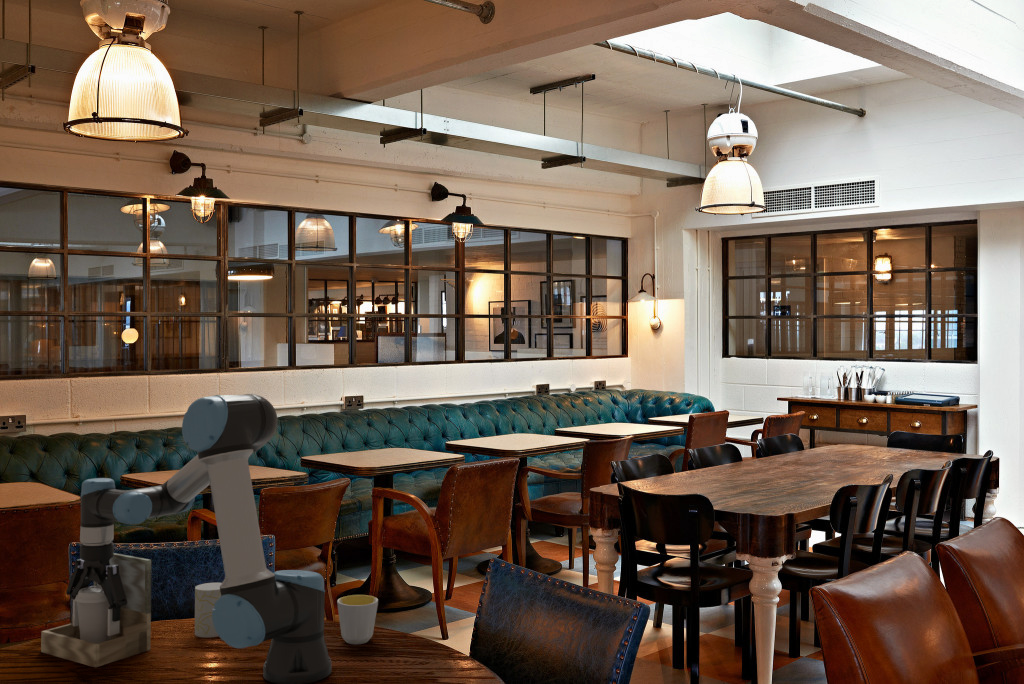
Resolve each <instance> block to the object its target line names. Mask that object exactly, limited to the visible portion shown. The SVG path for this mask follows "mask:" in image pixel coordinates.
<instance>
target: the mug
mask: <svg viewBox="0 0 1024 684" xmlns="http://www.w3.org/2000/svg"><path fill="white" fill-rule="evenodd" d="M336 604H337V610H338V611H337V612H338V619H339V627H340V634H341V637H342V639H343V640H344V641H345V642H346V643H347V644H348V645H349V644H350V645H362V644H363V645H364V644H366V643H368V642H369V641H370V639H371V638H372V637H374V635H373V634H374V628H375V623H376V617H377V611H378V606H379V599H378V598H377V597H375V596H373V595H366V594H352V595H351V594H350V595H347V596H343V597H340V598H338V599H337V600H336Z"/></svg>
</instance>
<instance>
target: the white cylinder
mask: <svg viewBox="0 0 1024 684" xmlns="http://www.w3.org/2000/svg"><path fill="white" fill-rule="evenodd" d="M221 584H222V582H207V583H201V584H198V585H195V586H194V587H195V588H194V636H196V637H198V638H216V637H219V635H218V634H217V632H216V630H215V627H214V624H213V620H212V610H213V608H214V604H215V602H216V601H217V600H218V599H219V598H220V597H221V592H220V585H221Z"/></svg>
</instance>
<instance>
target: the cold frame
mask: <svg viewBox="0 0 1024 684" xmlns="http://www.w3.org/2000/svg"><path fill="white" fill-rule="evenodd" d="M109 562H110V566H113V565H119V574H120V578H121V581H122V585H123V588H124V592H125V595H126V599H127V605H123V606H121V617H120V628H119V633H118V634H114V635H112V639H111V640H108V641H105V642H102V643H98V644H95V643H91V642H88V641H84V640H80V629H79V625H78V626H73V614H71V623H67V624H63V625H60V626H57V627H53V628H49V629H45V630H42V631H40V633H41V635H40V637H41V639H40V640H41V641H40V643H41V645H40V650H41V651H40V652H41V653H43V654H47V655H51V656H53V657H57V658H61V659H64V660H68V661H72V662H75V663H79V664H83V665H86V666H88V667H93V668H98V667H101V666H104V665H107V664H111V663H113V662H114V663H115V662H117V661H120V660H123V659H126V658H129V657H133V656H135V655H139V654H142V653H144V652H148V651H151V639H152V635H151V634H152V631H151V629H152V628H151V626H152V625H151V623H152V622H151V620H152V559H148V558H143V557H137V556H133V555H128V554H127V555H126V554H122V553H115V552H114V556H113V557H112V558H111V559H110V561H109ZM106 579H107V577H106ZM98 585H99V584H98V583H97V582H94V581H93V586H98ZM121 601H122V600H121ZM141 652H142V653H141Z"/></svg>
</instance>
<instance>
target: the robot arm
mask: <svg viewBox="0 0 1024 684" xmlns="http://www.w3.org/2000/svg"><path fill="white" fill-rule="evenodd" d="M278 421H279V420H278V415H277V411H276V409H275V407H274V405H273V404H272V403H271V402H270V401H269V400H268V399H267V398H265V397H264V396H261V395H259V394H253V393H251V394H250V393H247V394H216V395H209V396H204V397H200V398H197V399H196V400H194V401H193V402H191V404H190V405H189V406H188V408H187V410H186V412H185V413H184V415H183V418H182V424H181V433H182V437H183V441H184V443H185V444H186V445H187V447H188V448H189V449H190V450H191V451H195V452H196V453H197V454H196V455H195V456H194V457H193V458H192V459H191V460H190V461H188V462H187V463H186V464H185V465H184V466H182V467H181V468H180V469H179V470H178V471H176V473H174V474H173V475H172V476H171V477H170V478H169V479H167V480H166V481H164V483H162V484H160V485H156V486H155V485H154V486H148V487H141V488H140V487H139V488H136V489H129V490H127V489H125V490H124V489H116V485H115V484H116V483H115V480H114V479H112V478H110V477H109V478H108V477H98V478H97V477H96V478H95V477H94V478H88V479H85V480H83V482H82V483H81V492H80V496H79V498H80V526H79V527H80V531H79V533H80V534H79V542H80V545H79V559H75V561H74V569H73V571H72V575H71V577H70V580H69V583H68V585H67V589H66V592H65V593H66V595H67V596H70V599H71V600H72V603H71V604H72V605H71V610H72V615H73V626H78V625H79V617H78V606H77V602H76V601H75V598H76V595H77V594H78V592H79V590H80V589H82V588H85V587H90V585H91V583H92V581H93V583H94V582H97V583H98V584H99V585H101V587H102V589H103V592H104V594H105V596H106V598H107V600H108V602H109V605H110V607H109V608H108V636H111V635H114V634H118V633H119V628H120V617H121V606H123V605H127V599H126V595H125V592H124V588H123V585H122V581H121V578H120V574H119V565H113V566H110V562H109V561H110V559H111V558H112V557H113V556H114V553H115V552H114V551H115V550H114V549H115V548H114V547H115V544H114V542H113V541H114V538H115V537H114V536H115V533H114V532H115V530H114V529H115V527H114V526H115V523H121V524H125V525H140V524H142V523H144V522H145V521H146V520H147V519H153V518H158V517H164V516H170V515H179V514H181V513H185V512H187V511H189V510H190V509H192V507H193V504H194V503H195V501H196V499H195V498H196V497H197V495H199V494H200V493H202V491H204V490H205V489H207V487H208V486H209V485H210V491H211V497H212V502H213V510H214V515H215V521H216V528H217V533H218V534H217V535H218V539H219V547H220V551H221V557H222V563H223V569H224V575H225V576H224V580H222V582H221V583H222V584H221V585H220V592H221V597H220V598H219V599H218V600H217V601H216V602H215V604H214V608H213V610H212V620H213V624H214V627H215V630H216V632H217V634H218V635H219V636H218V637H219V638H220V640H221V641H224V642H225V644H226V645H228V646H229V647H231V648H235V649H246V648H248V647H254V646H258V645H260V644H261V643H263V642H267V641H269V640H271V642H270V645H269V647H268V651H267V654H266V660H265V661H264V663H263V667H262V670H263V675H262V676H263V678H264V679H265V680H266V681H267V682H269V683H273V684H311V683H314V682H318V681H321V680H323V679H325V678H327V677H329V676H330V675H331V674H332V659H331V657H330V656H329V652H328V646H327V643H326V641H325V595H326V594H325V593H326V590H325V580H324V576H322V574H320V573H319V572H315V571H311V570H300V569H286V570H285V569H283V570H281V569H280V570H276V571H273V572H272V571H271V570H270V569H268V568H267V566H266V559H265V553H264V548H263V541H262V536H261V530H260V524H259V519H258V518H259V517H258V512H257V506H256V501H255V496H254V490H253V489H254V488H253V483H252V477H251V472H250V471H251V470H250V466H249V458H250V457H251V455H252V454H254V453H256V452H258V451H259V450H260V449H261V448H263V447H264V446H265V445H267V443H268V442H270V440H272V438H273V436H274V435H275V433H276V430H277V427H278ZM106 577H107V579H106ZM121 600H122V601H121ZM114 602H115V603H114Z"/></svg>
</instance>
